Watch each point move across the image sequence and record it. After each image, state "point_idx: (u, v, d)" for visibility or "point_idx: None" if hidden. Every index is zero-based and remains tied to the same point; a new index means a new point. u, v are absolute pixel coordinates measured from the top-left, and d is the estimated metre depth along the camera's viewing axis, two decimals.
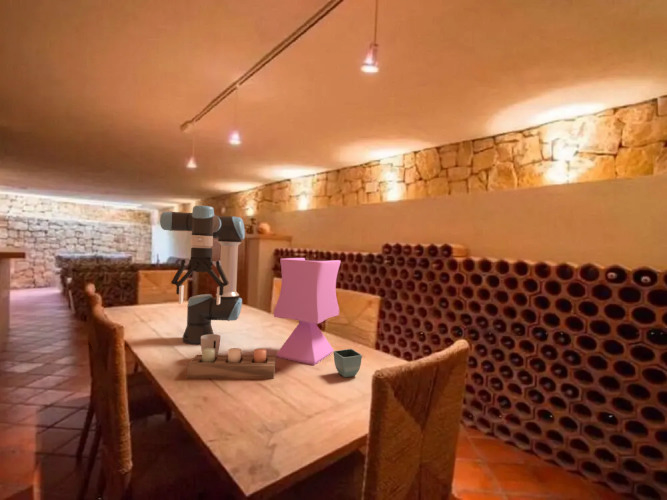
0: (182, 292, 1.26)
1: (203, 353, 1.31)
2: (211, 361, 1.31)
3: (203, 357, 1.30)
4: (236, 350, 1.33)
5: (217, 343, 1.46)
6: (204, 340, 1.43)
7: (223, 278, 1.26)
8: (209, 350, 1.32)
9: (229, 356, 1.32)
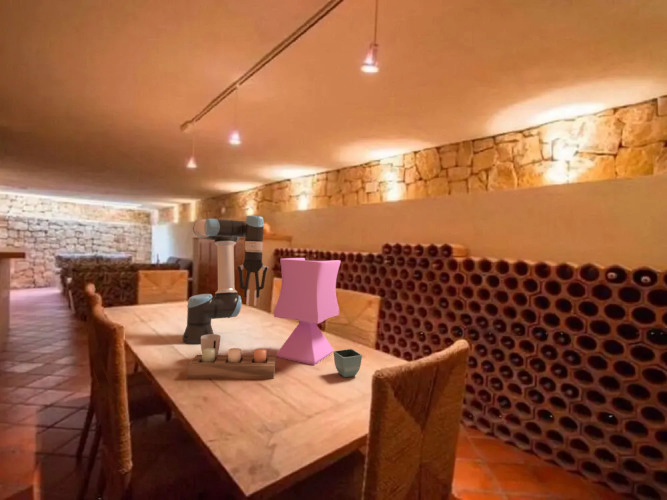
0: (248, 295, 1.48)
1: (203, 353, 1.31)
2: (211, 361, 1.31)
3: (203, 357, 1.30)
4: (236, 350, 1.33)
5: (217, 343, 1.46)
6: (204, 340, 1.43)
7: (262, 282, 1.47)
8: (209, 350, 1.32)
9: (229, 356, 1.32)
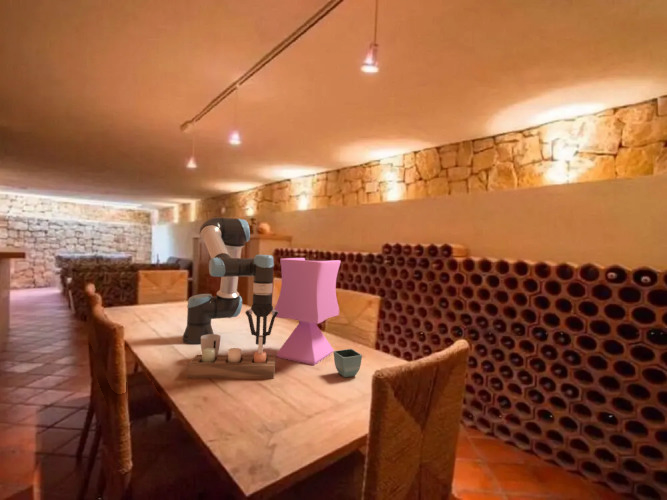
0: None
1: (203, 353, 1.31)
2: (211, 361, 1.31)
3: (203, 357, 1.30)
4: (236, 350, 1.33)
5: (217, 343, 1.46)
6: (204, 340, 1.43)
7: (270, 328, 1.34)
8: (209, 350, 1.32)
9: (229, 356, 1.32)
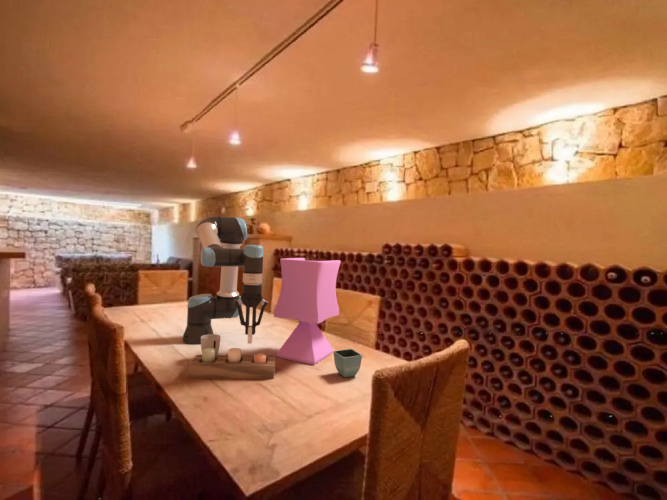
0: None
1: (203, 353, 1.31)
2: (211, 361, 1.31)
3: (203, 357, 1.30)
4: (236, 350, 1.33)
5: (217, 343, 1.46)
6: (204, 340, 1.43)
7: (260, 318, 1.34)
8: (209, 350, 1.32)
9: (229, 356, 1.32)
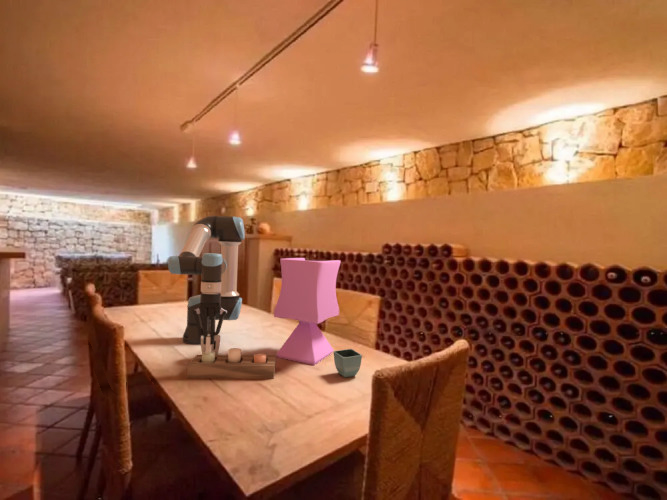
0: None
1: (203, 356, 1.31)
2: None
3: (203, 360, 1.30)
4: (236, 350, 1.33)
5: (217, 343, 1.46)
6: None
7: (218, 328, 1.32)
8: None
9: (229, 356, 1.32)
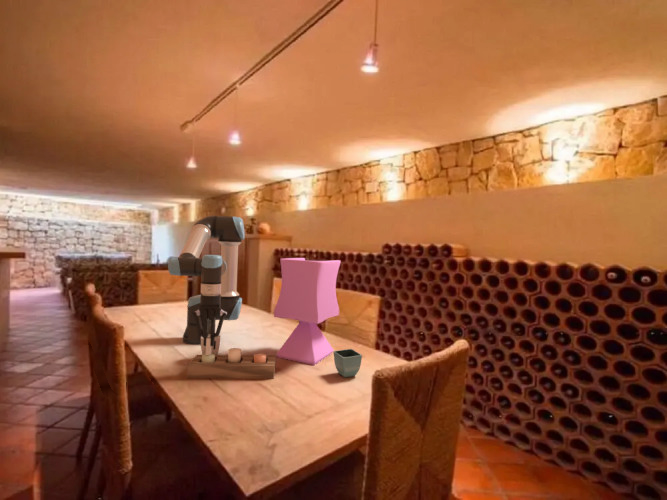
0: None
1: (203, 359, 1.31)
2: None
3: None
4: (236, 350, 1.33)
5: (217, 343, 1.46)
6: None
7: (218, 329, 1.32)
8: (209, 355, 1.32)
9: (229, 356, 1.32)
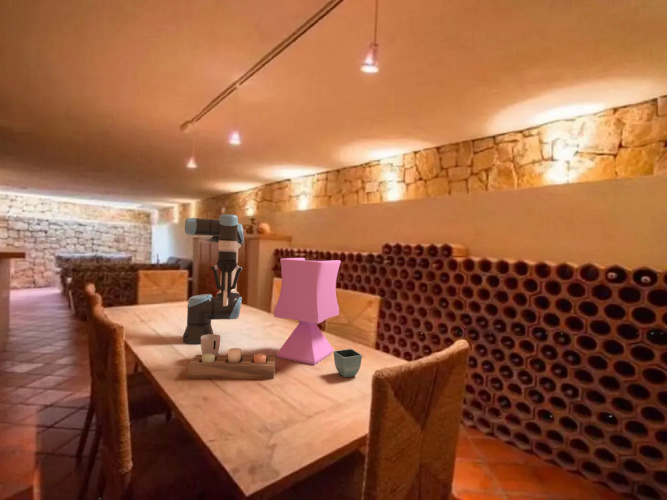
0: None
1: (203, 359, 1.31)
2: None
3: None
4: (236, 350, 1.33)
5: (217, 343, 1.46)
6: (204, 340, 1.43)
7: (234, 283, 1.44)
8: (209, 355, 1.32)
9: (229, 356, 1.32)
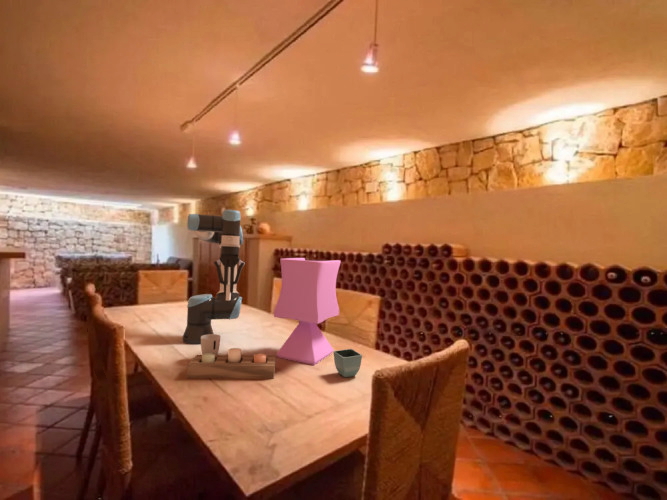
0: None
1: (203, 359, 1.31)
2: None
3: None
4: (236, 350, 1.33)
5: (217, 343, 1.46)
6: (204, 340, 1.43)
7: (237, 277, 1.46)
8: (209, 355, 1.32)
9: (229, 356, 1.32)
